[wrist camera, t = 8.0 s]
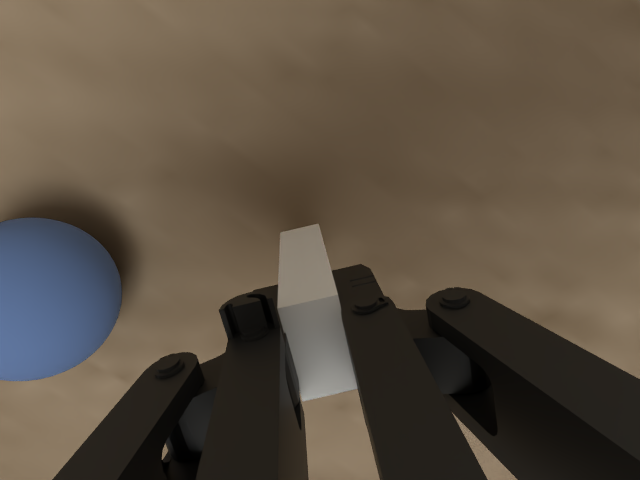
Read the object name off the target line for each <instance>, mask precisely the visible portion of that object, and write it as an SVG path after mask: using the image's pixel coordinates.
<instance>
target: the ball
mask: <svg viewBox="0 0 640 480" xmlns="http://www.w3.org/2000/svg"><path fill="white" fill-rule="evenodd" d="M121 300H122V287H121V280H120V276H119V272H118V269H117V267H116V265H115V263H114V261H113V259H112V258H111V256H110V255H109V253H108V252H107V250H106V249H105V248H104V247H103V246H102V245H101V244H100V243H99V242H98V241H97V240H96V239H95V238H93V237H92V236H91V235H89V234H88V233H86V232H84V231H83V230H81V229H79V228H77V227H75V226H72V225H70V224H67V223H64V222H60V221H57V220H52V219H46V218H18V219H12V220H7V221H3V222H0V380H8V381H30V380H37V379H42V378H46V377H51V376H54V375H56V374H59V373H62V372H65V371H67V370H69V369H71V368H73V367H75V366H76V365H78V364H80V363H81V362H83V361H84V360H86V359H87V358H88V357H89V356H91V355H92V354H93V353H94V352H95V351H96V350H97V349H98V348H99V347H100V346H101V345H102V344H103V343H104V341H105V340H106V339H107V337H108V336H109V334H110V333H111V331H112V329H113V327H114V325H115V323H116V321H117V318H118V315H119V311H120V307H121Z"/></svg>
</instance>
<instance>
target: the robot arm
mask: <svg viewBox="0 0 640 480" xmlns="http://www.w3.org/2000/svg"><path fill="white" fill-rule="evenodd" d="M426 309H427V310H402V309H398V308H396V306H395V304H394V303H393V301H392V300H391V299H390V298H389V297H386V296H384V295H383V293H382V291H381V289H380V287H379V285H378V283H377V282H376V279H375V277H374V275H373V273H372V271H371V269H370V268H368V267H366V266H364V265H362V264H359V265H355V266H351V267H346V268H342V269H338V270H333V271H331V267H330V264H329V260H328V256H327V253H326V249H325V245H324V242H323V238H322V234H321V231H320V227H319V224H314V225H310V226H306V227H301V228H297V229H293V230H288V231H284V232H280V250H279V277H278V285H274V286H269V287H265V288H261V289H256V290H254V291H253V292H250V293H246V294H242V295H239V296H237V297H235V298H233V299H230V300H229V301H227V302H226V303H225V304H223V305H222V306H221V308H220V309H219V312H220V315H221V318H222V322H223V325H224V328H225V331H226V334H227V337H228V343H227V347H226V352H225V353H224V354H222V355H220V356H218V357H216V358H214V359H212V360H209V361H207V362H204V363H202V364H199V362H198V359H197V356H196V355H195V354H193V353H188V352H182V353H177V354H170V355H168V356H165V357H163V358H161V359H160V360H159V361H157V362H155V363H154V364H152V365H151V366H150V367H149V368H147V369H146V370H145V371H144V372H143V374H142V375H141V376H140V377H139V378H138V379H137V381H136V382H135V383H134V384H133V385H132V387H131V388H130V389H129V390H128V391H127V392H126V394H125V395H124V396H123V397H122V398H121V399H120V401H119V402H118V403H117V404H116V405H115V407H114V408H113V409H112V410H111V411H110V412H109V414H108V415H107V416H106V417H105V418H104V419H103V421H102V422H101V423H100V424H99V425H98V427H97V428H96V429H95V430H94V431H93V432H92V434H91V435H90V436H89V437H88V438H87V439H86V441H85V442H84V443H83V444H82V445H81V447H80V448H79V449H78V450H77V451H76V452H75V454H74V455H73V456H72V457H71V458H70V459H69V461H68V462H67V463H66V464H65V465H64V467H63V468H62V469H61V470H60V471H59V472H58V474H57V475H56V476H55V477H54V478H53V479H52V480H308V465H307V450H306V434H305V419H304V411H303V408H302V404H301V401H300V395H299V390H300V393H301V397H302V401H307V400H311V399H315V398H320V397H324V396H328V395H333V394H337V393H341V392H346V391H350V390H354V389H358V392H359V396H360V401H361V405H362V409H363V414H364V418H365V423H366V425H367V429H368V433H369V437H370V441H371V445H372V449H373V453H374V457H375V461H376V465H377V469H378V473H379V477H380V480H487V478H486V476H485V474H484V472H483V470H482V468H481V466H480V465H479V463H478V461H477V459H476V457H475V455H474V453H473V451H472V450H471V448H470V446H469V444H468V442H467V440H466V438H465V436H464V434H463V433H462V431H461V429H460V427H459V425H458V423H457V421H456V419H455V417H454V416H453V414H454V415H455V416H456V417H457V418H458V419H459V420H460V421H461V422H462V423H463V424H464V425H465V426H466V427H467V428H468V429H469V430H470V431H471V432H472V433H473V434H474V435H475V436H476V437H477V438H478V439H479V440H480V441H481V442H482V443H483V444H484V445H485V446H486V447H487V448H488V450H489V451H490V452H491V453H492V454H493V455H494V456H495V457H496V458H497V459H498V460H499V461H500V462H501V463H502V464H503V465H504V466H505V467H506V468H507V469H508V470H509V471H510V472H511V473H512V474H513V475H514V476H515V477H516V478H517V479H518V480H640V379H638V378H636V377H634V376H632V375H630V374H629V373H627V372H625V371H623V370H621V369H619V368H618V367H616V366H614V365H612V364H610V363H608V362H607V361H605V360H603V359H601V358H599V357H597V356H596V355H594V354H592V353H590V352H588V351H586V350H585V349H583V348H581V347H579V346H577V345H575V344H573V343H572V342H570V341H568V340H566V339H564V338H562V337H561V336H559V335H557V334H555V333H553V332H551V331H550V330H548V329H546V328H544V327H542V326H540V325H539V324H537V323H535V322H533V321H531V320H529V319H527V318H526V317H524V316H522V315H520V314H518V313H516V312H515V311H513V310H511V309H509V308H507V307H505V306H504V305H502V304H500V303H498V302H496V301H494V300H493V299H491V298H489V297H487V296H485V295H483V294H482V293H480V292H477V291H475V290H472V289H466V288H460V287H454V288H447V289H445V290H442V291H438V292H436V293H434V294H432V295H431V296H430V297H429V298H428V299H427V300H426ZM451 411H452V412H451ZM452 413H453V414H452ZM165 443H166V446H167V448H168V452H167V454H166V456H165V457H164V459H163V460H161V459H162V450H163V447H164V445H165Z"/></svg>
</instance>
